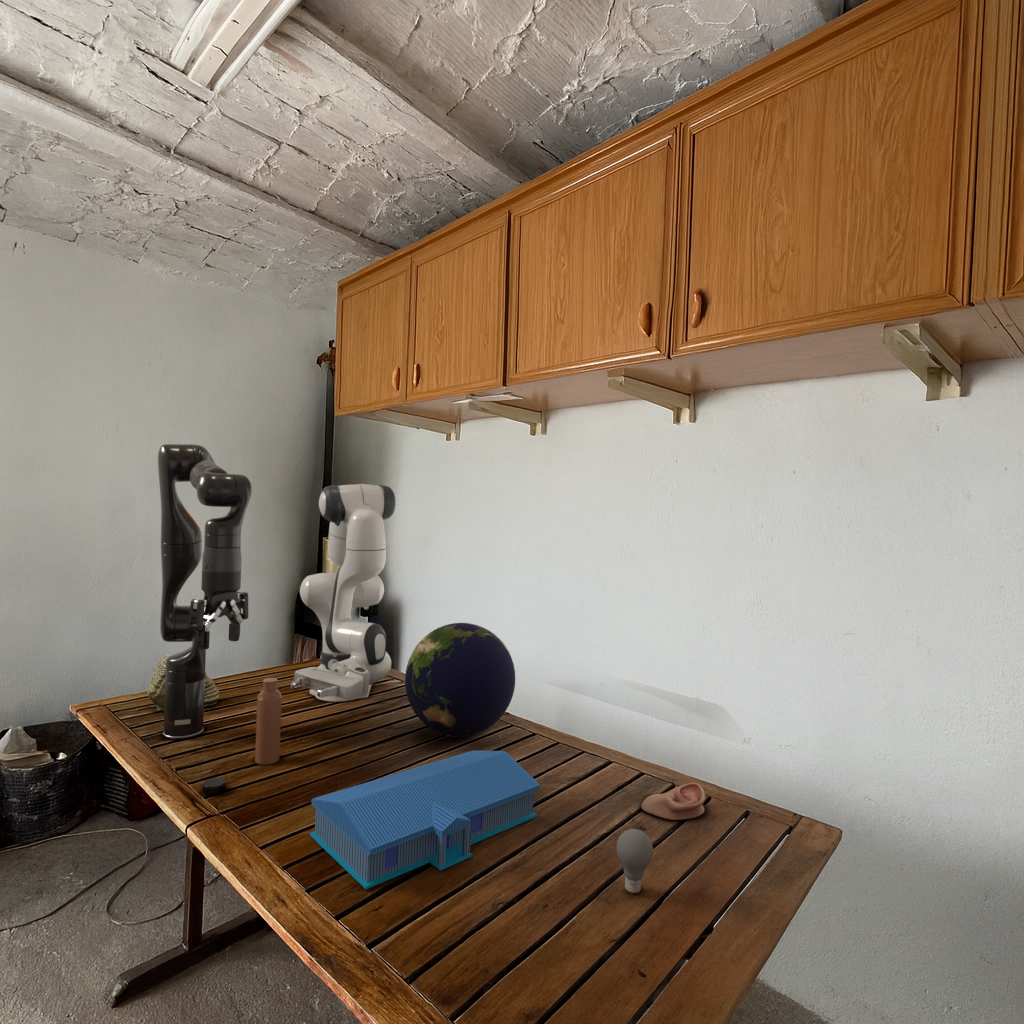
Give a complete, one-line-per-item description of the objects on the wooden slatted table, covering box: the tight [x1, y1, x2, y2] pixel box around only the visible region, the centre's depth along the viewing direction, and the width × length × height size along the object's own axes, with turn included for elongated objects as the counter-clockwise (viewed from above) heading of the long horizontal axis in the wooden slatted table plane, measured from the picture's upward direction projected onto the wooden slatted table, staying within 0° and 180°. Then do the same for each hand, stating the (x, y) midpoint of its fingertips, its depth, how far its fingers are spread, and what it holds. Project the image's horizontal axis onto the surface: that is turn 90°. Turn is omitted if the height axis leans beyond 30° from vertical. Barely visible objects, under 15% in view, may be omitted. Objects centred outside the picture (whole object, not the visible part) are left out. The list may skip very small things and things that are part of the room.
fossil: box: [147, 654, 221, 712], centre depth 185 cm, size 9×18×15 cm, turn 132°
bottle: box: [254, 677, 283, 766], centre depth 151 cm, size 6×6×19 cm
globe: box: [404, 622, 516, 738], centre depth 173 cm, size 30×30×30 cm
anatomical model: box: [640, 782, 706, 821], centre depth 135 cm, size 13×4×12 cm
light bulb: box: [615, 828, 654, 894], centre depth 106 cm, size 6×6×10 cm
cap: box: [202, 777, 227, 797], centre depth 134 cm, size 4×4×2 cm
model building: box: [309, 750, 541, 890], centre depth 123 cm, size 39×24×10 cm, turn 132°
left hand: (219, 644), depth 134 cm, fingers open, 8 cm apart
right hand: (305, 690), depth 161 cm, fingers open, 8 cm apart
